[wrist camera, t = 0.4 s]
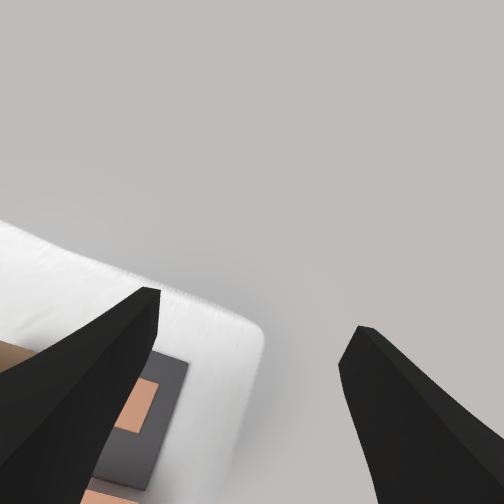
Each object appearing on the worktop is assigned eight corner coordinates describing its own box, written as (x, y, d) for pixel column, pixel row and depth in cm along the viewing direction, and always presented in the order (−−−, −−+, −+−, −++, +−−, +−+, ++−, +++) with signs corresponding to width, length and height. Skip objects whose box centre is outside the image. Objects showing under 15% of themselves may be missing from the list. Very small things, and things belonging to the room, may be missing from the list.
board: (144, 491, 19) (146, 488, 18) (31, 461, 18) (30, 457, 17) (187, 366, 27) (189, 362, 27) (112, 340, 26) (113, 335, 26)
